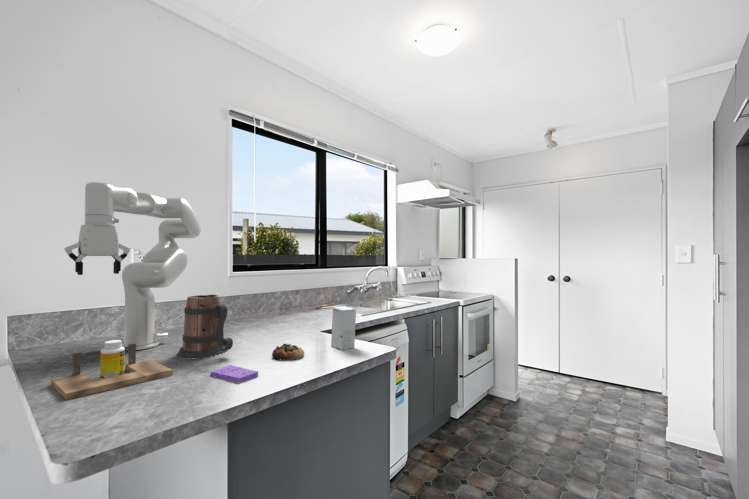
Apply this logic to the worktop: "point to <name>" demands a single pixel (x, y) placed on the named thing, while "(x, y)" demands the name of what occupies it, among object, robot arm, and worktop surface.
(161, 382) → the worktop surface
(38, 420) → the worktop surface
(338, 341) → the skincare box
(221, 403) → the worktop surface
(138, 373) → the shelf board
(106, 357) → the supplement bottle
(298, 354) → the bread roll
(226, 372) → the sponges
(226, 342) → the tankard
